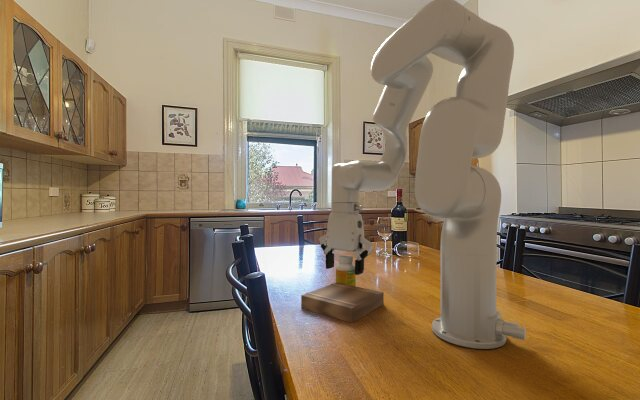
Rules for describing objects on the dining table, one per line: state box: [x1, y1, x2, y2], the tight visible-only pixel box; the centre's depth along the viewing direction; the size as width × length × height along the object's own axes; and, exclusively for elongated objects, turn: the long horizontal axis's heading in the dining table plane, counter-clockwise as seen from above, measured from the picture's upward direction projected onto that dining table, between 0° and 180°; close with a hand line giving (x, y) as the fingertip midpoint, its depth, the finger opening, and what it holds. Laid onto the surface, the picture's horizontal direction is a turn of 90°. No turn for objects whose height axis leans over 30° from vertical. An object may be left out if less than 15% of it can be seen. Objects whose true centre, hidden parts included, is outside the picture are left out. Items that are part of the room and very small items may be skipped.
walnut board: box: [300, 282, 385, 323], centre depth 74 cm, size 14×14×3 cm
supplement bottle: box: [335, 254, 357, 287], centre depth 86 cm, size 5×5×10 cm
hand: (344, 270), depth 86 cm, fingers open, 9 cm apart
